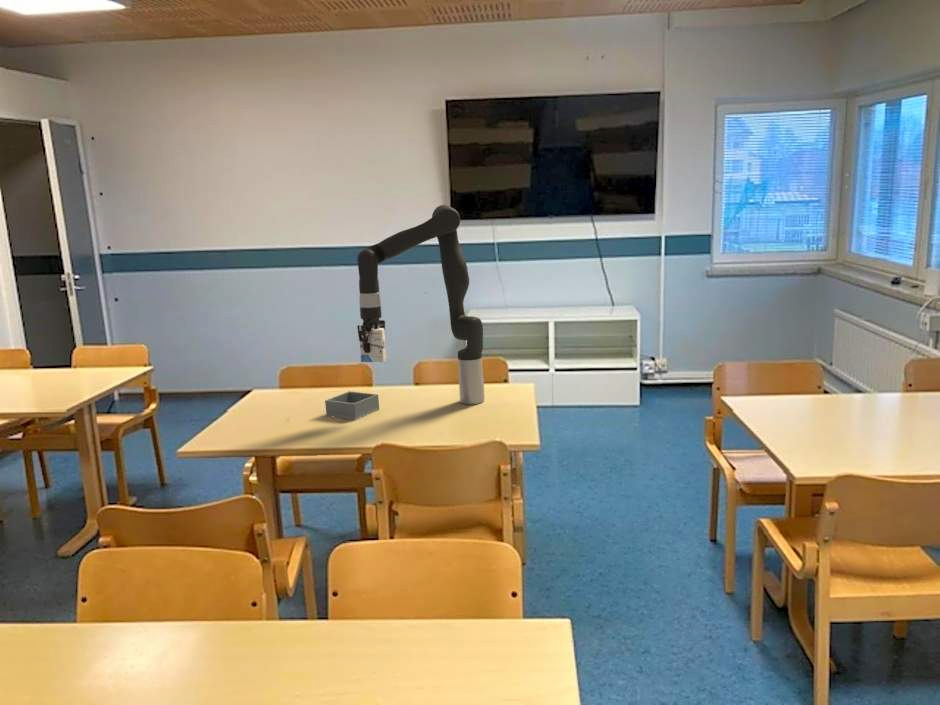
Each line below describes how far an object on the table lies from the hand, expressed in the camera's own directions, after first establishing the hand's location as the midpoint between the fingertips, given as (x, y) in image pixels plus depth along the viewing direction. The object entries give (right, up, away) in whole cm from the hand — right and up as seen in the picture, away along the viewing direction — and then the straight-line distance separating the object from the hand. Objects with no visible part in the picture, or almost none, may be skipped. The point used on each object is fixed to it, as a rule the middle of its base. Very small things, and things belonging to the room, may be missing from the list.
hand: (373, 350), depth 266 cm
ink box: (0, -4, +1) cm, 4 cm away
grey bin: (-9, -23, +10) cm, 27 cm away
